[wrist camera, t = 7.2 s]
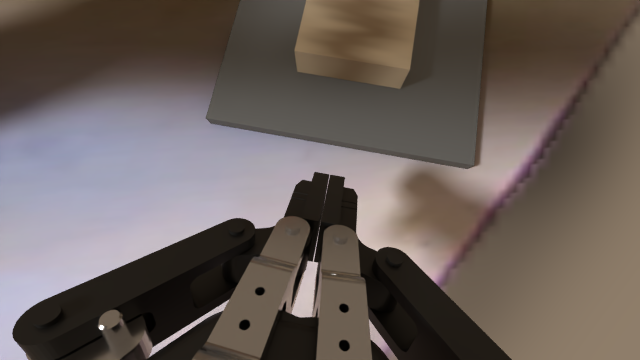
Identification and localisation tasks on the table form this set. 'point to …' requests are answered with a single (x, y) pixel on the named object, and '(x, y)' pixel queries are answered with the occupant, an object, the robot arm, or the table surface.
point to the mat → (357, 86)
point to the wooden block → (358, 40)
